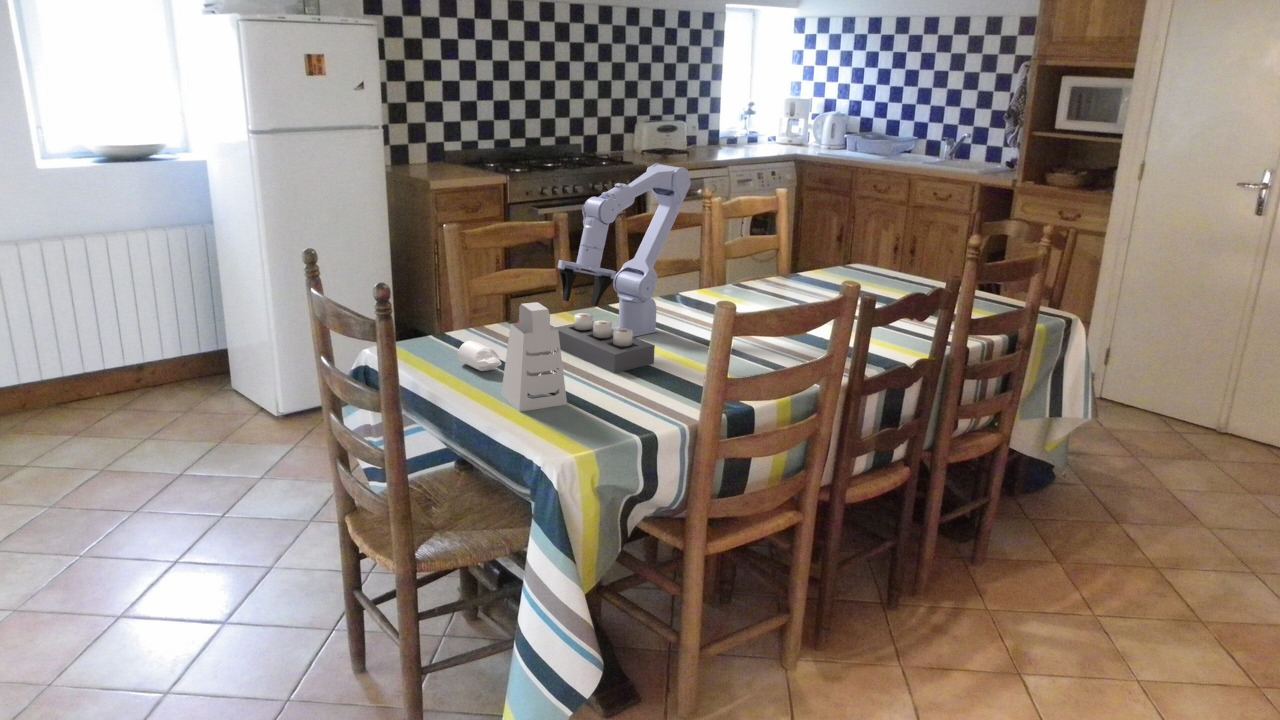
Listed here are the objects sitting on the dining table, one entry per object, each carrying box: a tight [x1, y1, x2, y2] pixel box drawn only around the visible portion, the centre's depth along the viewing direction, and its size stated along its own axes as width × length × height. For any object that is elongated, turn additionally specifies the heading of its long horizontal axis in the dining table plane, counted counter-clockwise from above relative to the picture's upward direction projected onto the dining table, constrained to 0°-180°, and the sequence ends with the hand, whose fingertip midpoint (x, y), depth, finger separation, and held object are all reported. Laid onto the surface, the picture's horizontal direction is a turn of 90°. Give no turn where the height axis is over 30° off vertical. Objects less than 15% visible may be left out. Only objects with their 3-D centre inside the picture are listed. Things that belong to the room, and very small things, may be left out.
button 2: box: [613, 328, 633, 346], centre depth 217 cm, size 4×4×3 cm
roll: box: [457, 340, 503, 372], centre depth 210 cm, size 6×12×6 cm, turn 41°
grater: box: [500, 301, 568, 412], centre depth 192 cm, size 10×10×20 cm
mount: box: [554, 320, 656, 374], centre depth 224 cm, size 12×24×4 cm, turn 41°
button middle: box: [593, 320, 613, 338], centre depth 223 cm, size 4×4×3 cm
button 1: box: [573, 312, 594, 330], centre depth 228 cm, size 4×4×3 cm
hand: (579, 303), depth 226 cm, fingers open, 7 cm apart
